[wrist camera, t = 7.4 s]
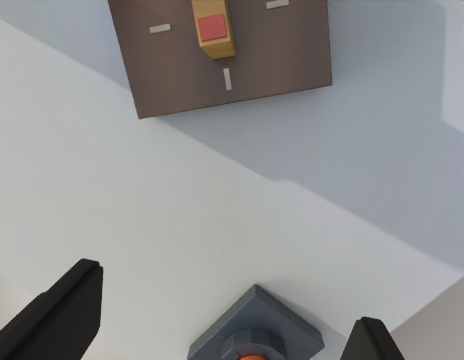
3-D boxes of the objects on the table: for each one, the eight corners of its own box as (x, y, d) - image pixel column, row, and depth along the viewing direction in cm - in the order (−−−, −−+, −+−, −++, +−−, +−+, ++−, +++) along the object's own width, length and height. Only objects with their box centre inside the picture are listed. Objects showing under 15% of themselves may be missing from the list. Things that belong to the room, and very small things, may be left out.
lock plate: (308, -83, 18) (320, -118, 15) (321, 86, 22) (333, 84, 18) (114, -36, 20) (91, -59, 17) (152, 116, 23) (137, 119, 20)
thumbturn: (198, -25, 17) (177, -75, 12) (223, -31, 17) (211, -84, 12) (212, 59, 19) (198, 45, 14) (235, 55, 18) (230, 40, 13)
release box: (255, 283, 27) (255, 309, 24) (320, 332, 28) (330, 363, 25) (189, 346, 30) (182, 377, 27) (252, 388, 31) (252, 423, 28)
